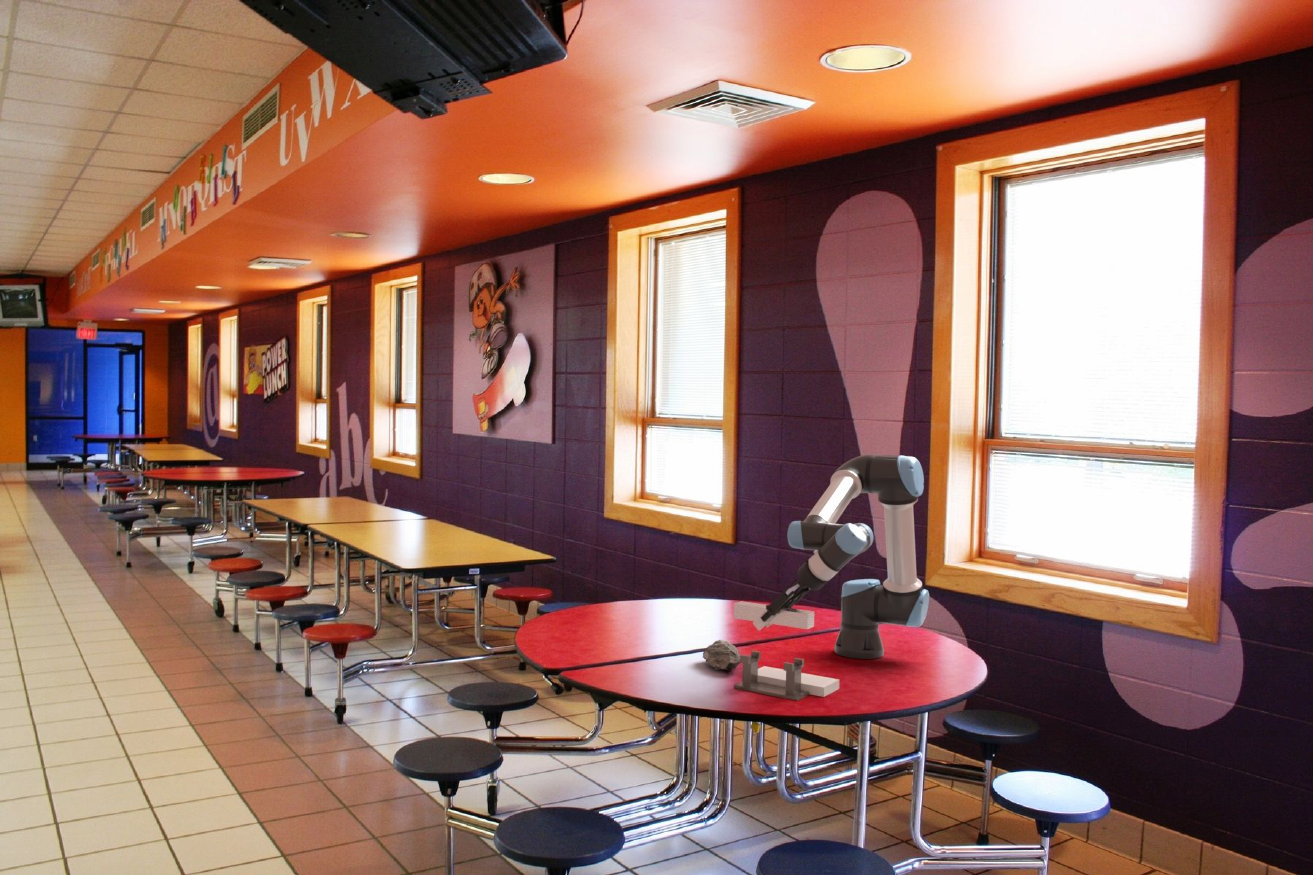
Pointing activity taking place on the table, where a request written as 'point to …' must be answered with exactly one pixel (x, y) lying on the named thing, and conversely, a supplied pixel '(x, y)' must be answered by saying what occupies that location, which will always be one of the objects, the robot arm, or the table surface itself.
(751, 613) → the rail
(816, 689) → the board
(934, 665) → the table surface
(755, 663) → the rack
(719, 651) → the rock
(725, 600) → the table surface
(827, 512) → the robot arm
